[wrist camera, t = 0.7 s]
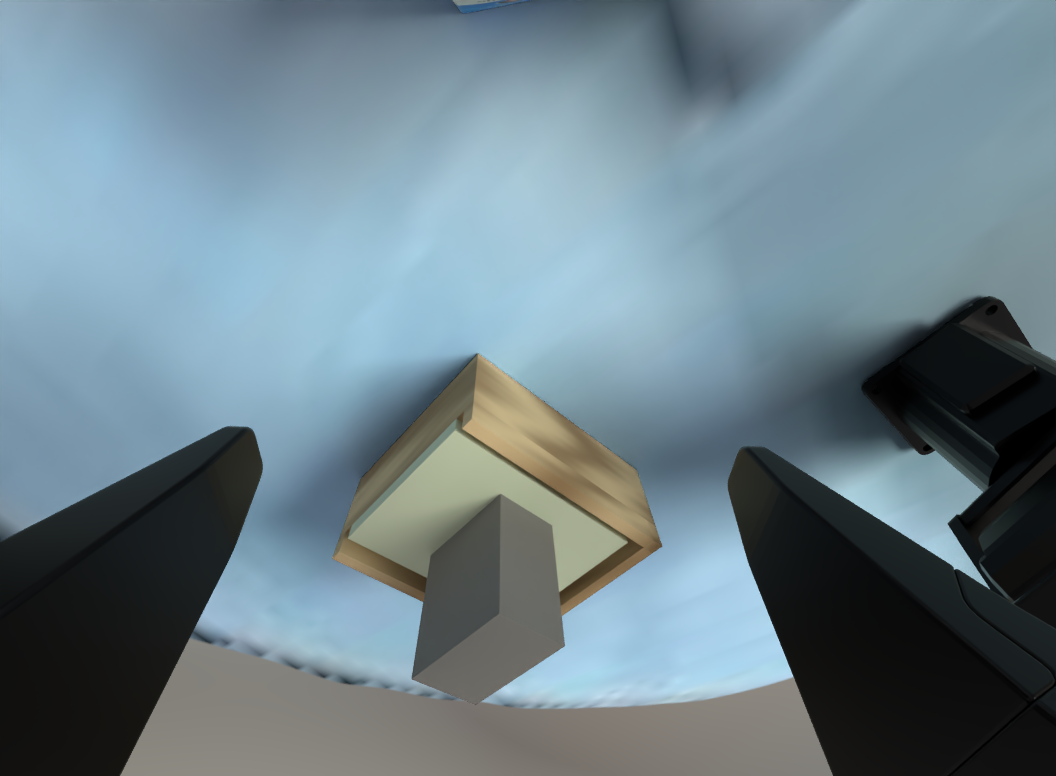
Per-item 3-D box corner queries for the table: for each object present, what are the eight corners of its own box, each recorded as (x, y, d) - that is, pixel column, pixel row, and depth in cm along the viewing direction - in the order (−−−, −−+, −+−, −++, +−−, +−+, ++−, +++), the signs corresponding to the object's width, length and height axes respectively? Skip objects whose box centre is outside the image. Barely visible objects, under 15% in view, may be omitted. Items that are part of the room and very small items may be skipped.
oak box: (636, 470, 27) (662, 546, 23) (515, 565, 31) (517, 646, 27) (478, 353, 23) (471, 418, 19) (360, 479, 27) (332, 558, 22)
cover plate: (624, 529, 24) (659, 662, 18) (516, 608, 27) (519, 744, 21) (456, 418, 20) (438, 544, 15) (352, 524, 23) (305, 663, 18)
